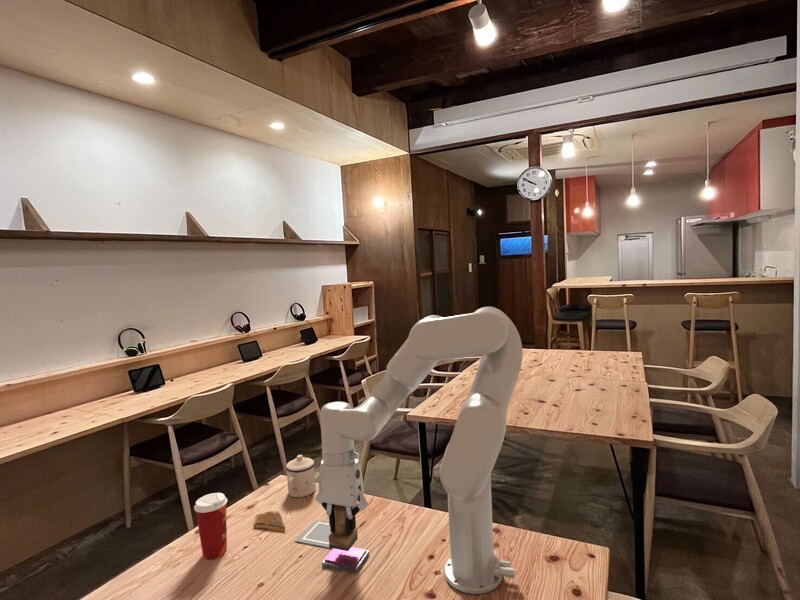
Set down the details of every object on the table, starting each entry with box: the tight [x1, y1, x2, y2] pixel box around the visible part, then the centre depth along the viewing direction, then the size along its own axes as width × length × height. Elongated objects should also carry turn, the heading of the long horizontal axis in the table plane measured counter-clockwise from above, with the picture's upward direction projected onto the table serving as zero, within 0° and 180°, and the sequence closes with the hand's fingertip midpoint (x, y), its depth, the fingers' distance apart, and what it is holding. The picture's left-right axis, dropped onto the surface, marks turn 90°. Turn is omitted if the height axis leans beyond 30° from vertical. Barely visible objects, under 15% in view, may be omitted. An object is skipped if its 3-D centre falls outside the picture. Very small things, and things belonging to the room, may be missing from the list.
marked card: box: [294, 519, 333, 550], centre depth 115 cm, size 11×10×1 cm
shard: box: [252, 510, 286, 532], centre depth 121 cm, size 11×8×2 cm
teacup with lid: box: [285, 454, 316, 498], centre depth 138 cm, size 12×9×12 cm
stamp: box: [328, 505, 359, 551], centre depth 104 cm, size 5×5×9 cm
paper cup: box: [193, 492, 228, 561], centre depth 110 cm, size 8×8×14 cm
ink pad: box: [321, 546, 370, 574], centre depth 104 cm, size 9×7×2 cm
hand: (342, 529), depth 104 cm, fingers closed on stamp, 3 cm apart
